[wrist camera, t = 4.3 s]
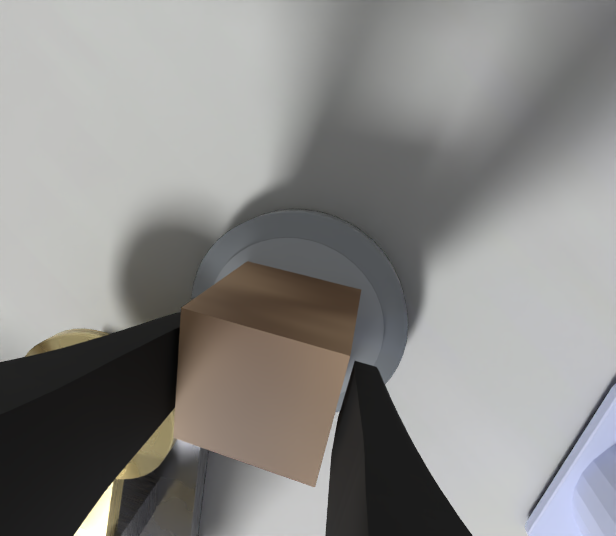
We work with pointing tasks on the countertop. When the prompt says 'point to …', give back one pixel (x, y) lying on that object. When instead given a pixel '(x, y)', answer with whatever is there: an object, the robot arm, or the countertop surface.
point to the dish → (322, 275)
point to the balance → (145, 477)
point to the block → (264, 368)
